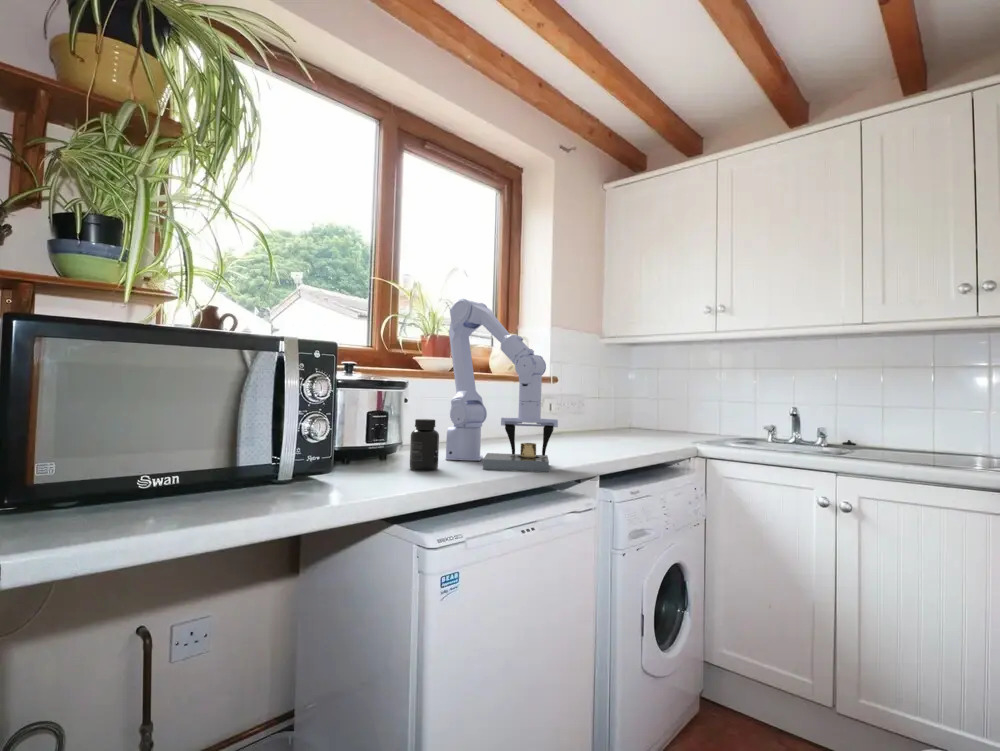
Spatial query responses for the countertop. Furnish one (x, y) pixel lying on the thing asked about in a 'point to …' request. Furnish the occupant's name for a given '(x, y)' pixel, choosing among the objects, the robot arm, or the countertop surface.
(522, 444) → the bushing
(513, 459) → the jig
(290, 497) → the countertop surface
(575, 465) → the countertop surface
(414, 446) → the supplement bottle
